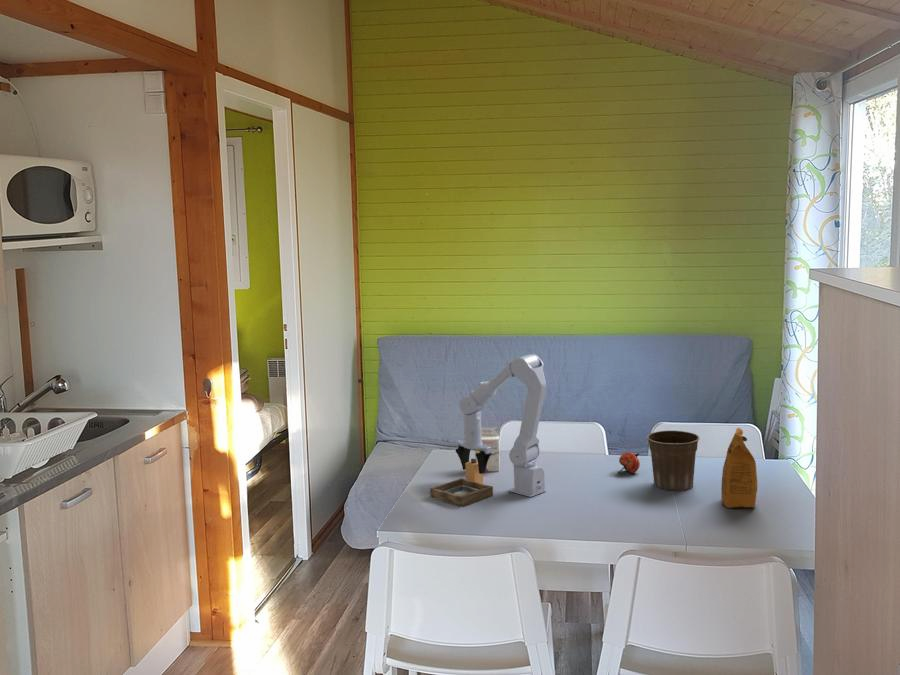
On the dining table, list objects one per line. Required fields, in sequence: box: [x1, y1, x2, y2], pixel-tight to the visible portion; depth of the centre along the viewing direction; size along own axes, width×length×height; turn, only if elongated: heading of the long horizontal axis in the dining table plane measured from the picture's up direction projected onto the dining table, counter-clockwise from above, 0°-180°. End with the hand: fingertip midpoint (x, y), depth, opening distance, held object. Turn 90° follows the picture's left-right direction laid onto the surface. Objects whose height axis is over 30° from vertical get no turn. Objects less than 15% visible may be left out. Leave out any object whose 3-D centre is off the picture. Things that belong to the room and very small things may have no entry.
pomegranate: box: [617, 452, 641, 474], centre depth 288 cm, size 7×7×10 cm
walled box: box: [429, 478, 494, 508], centre depth 270 cm, size 14×14×3 cm
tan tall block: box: [465, 457, 484, 484], centre depth 284 cm, size 4×4×8 cm
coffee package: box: [720, 427, 758, 509], centre depth 252 cm, size 10×12×22 cm
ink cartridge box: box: [474, 427, 501, 472], centre depth 298 cm, size 9×5×15 cm, turn 84°
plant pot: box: [646, 430, 700, 492], centre depth 272 cm, size 16×16×16 cm
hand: (473, 470), depth 284 cm, fingers open, 7 cm apart
